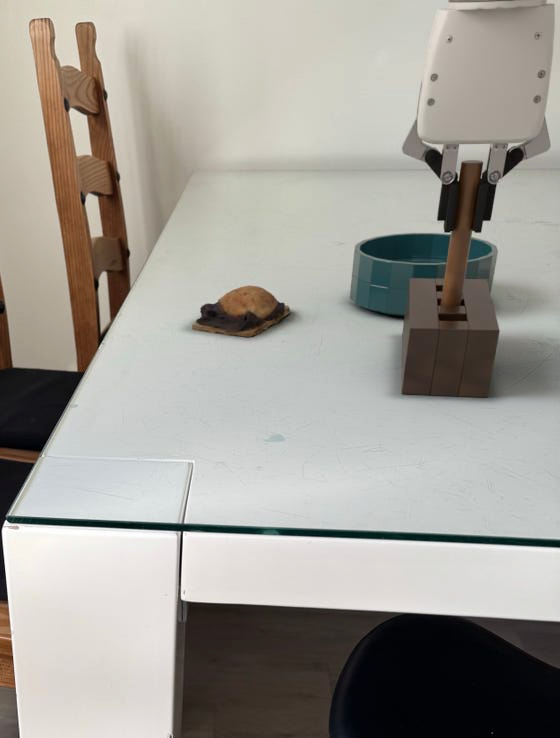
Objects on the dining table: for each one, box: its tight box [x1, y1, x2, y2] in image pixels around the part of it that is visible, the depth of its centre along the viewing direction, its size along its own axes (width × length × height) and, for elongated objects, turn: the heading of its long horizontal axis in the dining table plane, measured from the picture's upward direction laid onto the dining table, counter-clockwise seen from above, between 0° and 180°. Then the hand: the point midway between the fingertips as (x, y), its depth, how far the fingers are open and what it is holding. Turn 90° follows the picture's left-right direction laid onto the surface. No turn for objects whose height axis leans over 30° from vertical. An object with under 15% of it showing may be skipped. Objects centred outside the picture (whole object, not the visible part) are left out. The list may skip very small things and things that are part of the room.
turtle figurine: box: [191, 285, 291, 338], centre depth 111 cm, size 11×8×4 cm
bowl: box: [349, 232, 499, 318], centre depth 113 cm, size 15×15×6 cm
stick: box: [440, 159, 484, 306], centre depth 92 cm, size 2×2×18 cm
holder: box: [400, 278, 501, 398], centre depth 95 cm, size 7×17×6 cm, turn 165°
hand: (462, 228), depth 90 cm, fingers closed on stick, 1 cm apart
